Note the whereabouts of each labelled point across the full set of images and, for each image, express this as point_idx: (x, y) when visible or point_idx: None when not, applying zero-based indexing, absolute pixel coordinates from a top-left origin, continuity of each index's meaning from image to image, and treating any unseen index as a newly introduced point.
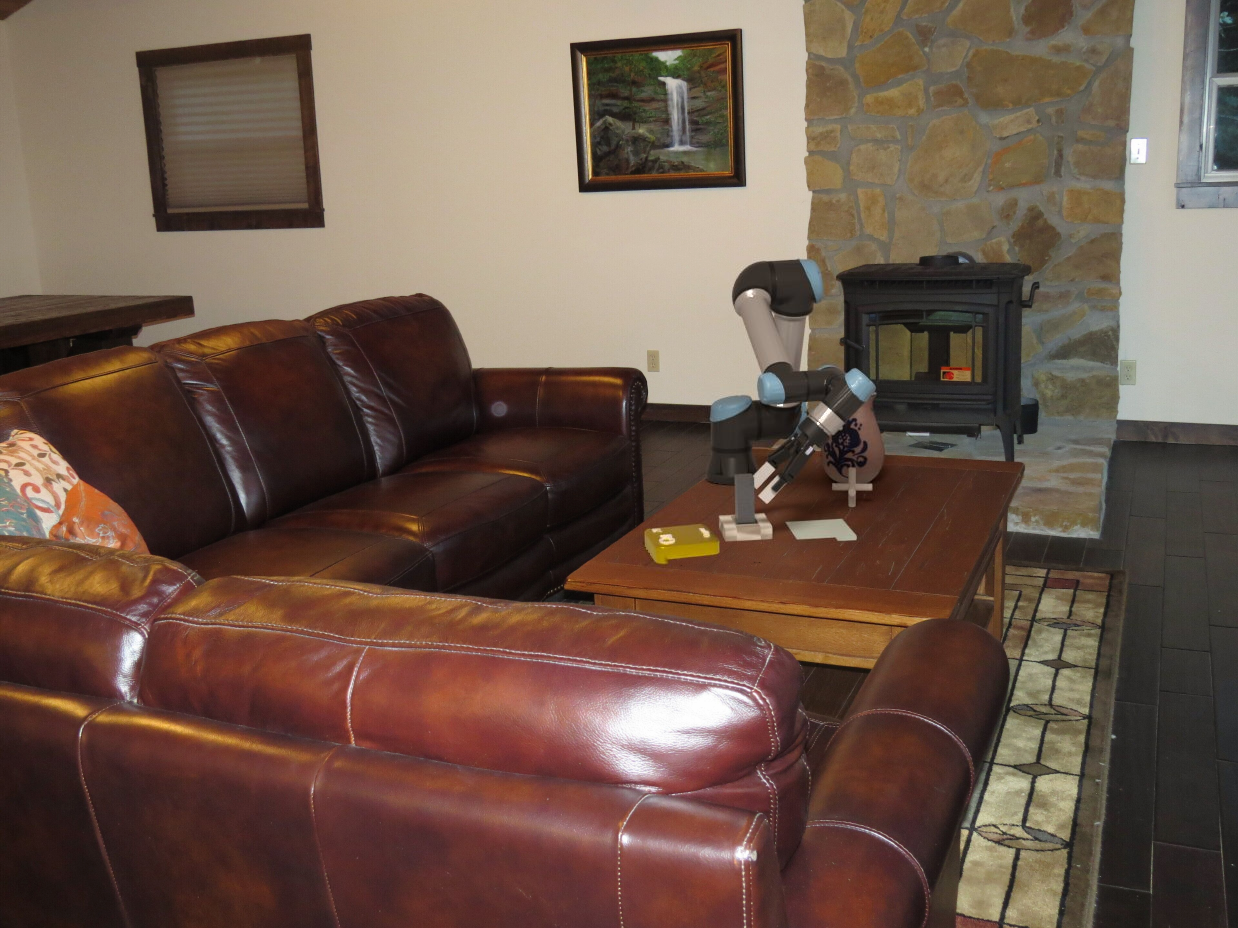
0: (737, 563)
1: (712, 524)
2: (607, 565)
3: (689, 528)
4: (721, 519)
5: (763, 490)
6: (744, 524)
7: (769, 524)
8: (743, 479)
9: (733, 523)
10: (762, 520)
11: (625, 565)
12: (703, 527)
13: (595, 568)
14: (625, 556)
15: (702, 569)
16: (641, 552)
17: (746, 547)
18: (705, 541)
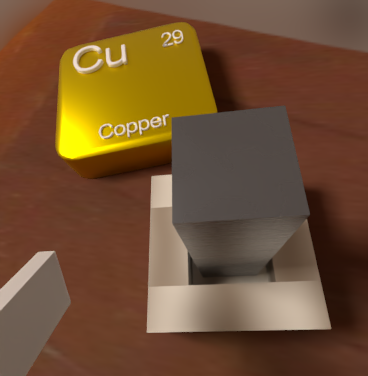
0: (27, 213)
1: (354, 172)
2: (95, 16)
3: (176, 95)
4: None
5: (24, 278)
6: None
7: (170, 325)
8: (174, 157)
9: None
10: (226, 305)
11: (87, 36)
12: None
13: (87, 6)
14: (133, 32)
15: (20, 145)
16: None
17: (134, 245)
18: (64, 129)
